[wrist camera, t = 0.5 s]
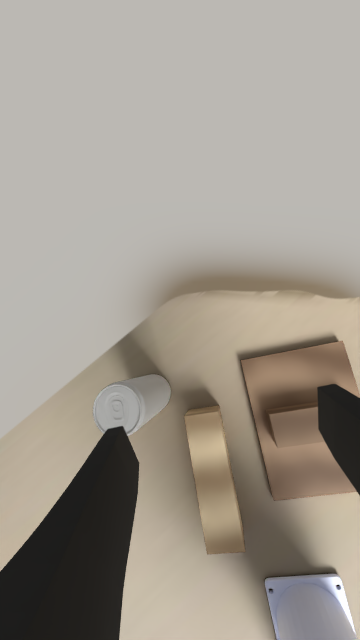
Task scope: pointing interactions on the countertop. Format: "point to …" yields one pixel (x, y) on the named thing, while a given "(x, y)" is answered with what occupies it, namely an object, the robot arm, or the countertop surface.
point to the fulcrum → (297, 418)
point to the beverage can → (131, 402)
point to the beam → (214, 481)
